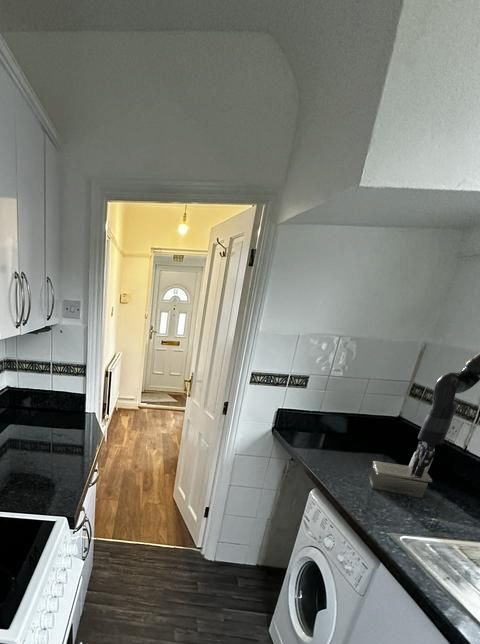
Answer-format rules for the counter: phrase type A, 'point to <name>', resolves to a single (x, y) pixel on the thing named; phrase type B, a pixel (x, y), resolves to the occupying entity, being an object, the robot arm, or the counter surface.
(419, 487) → the beige storage tray
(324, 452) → the counter surface
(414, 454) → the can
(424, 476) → the lid
